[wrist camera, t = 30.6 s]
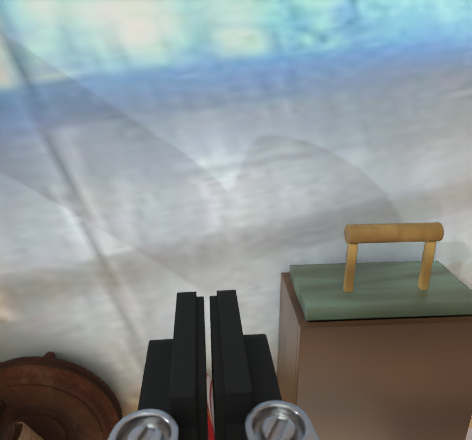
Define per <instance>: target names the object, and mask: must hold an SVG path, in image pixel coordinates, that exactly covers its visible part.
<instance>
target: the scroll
mask: <svg viewBox="0 0 472 440" xmlns="http://www.w3.org/2000/svg"><path fill="white" fill-rule="evenodd" d="M121 419H122V412H121V408H120V405H119V403H118V401H117V398H116V397H115V395H114V393H113V392H112V391H111V389H110V388H109V387H108V386H107V385H106V384H105V383H104V382H103V381H102V380H101V379H100V378H99V377H97V376H96V375H95V374H93V373H92V372H90V371H88V370H87V369H85V368H83V367H81V366H79V365H76V364H74V363H71V362H68V361H65V360H61V359H56V358H55V355H54V352H51V351H50V352H48V353H46V354H45V355H44V356H43V357H38V356H37V357H21V358H16V359H11V360H8V361H5V362H2V363H0V440H108V437H109V435H110V433H111V431H112V430H113V428H114V426H115V425H116V424H117V423H118V422H119V421H120V420H121Z"/></svg>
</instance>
